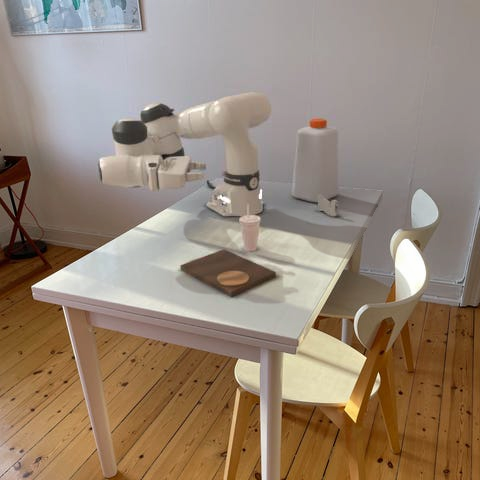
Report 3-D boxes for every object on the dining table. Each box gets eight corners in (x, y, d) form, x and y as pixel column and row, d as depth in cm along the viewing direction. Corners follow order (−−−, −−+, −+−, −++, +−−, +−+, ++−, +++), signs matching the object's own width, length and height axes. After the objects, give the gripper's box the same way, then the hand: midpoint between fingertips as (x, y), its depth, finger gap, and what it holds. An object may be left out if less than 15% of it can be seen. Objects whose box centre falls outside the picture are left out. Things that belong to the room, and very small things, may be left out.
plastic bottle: (341, 195, 193) (347, 118, 179) (319, 205, 184) (323, 125, 170) (310, 188, 202) (313, 114, 188) (287, 197, 193) (288, 120, 179)
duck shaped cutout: (320, 210, 180) (339, 217, 172) (317, 211, 179) (336, 218, 172) (321, 194, 177) (340, 201, 169) (318, 195, 176) (337, 202, 169)
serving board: (180, 270, 140) (180, 263, 139) (224, 253, 149) (223, 247, 148) (231, 296, 126) (230, 290, 125) (275, 277, 135) (275, 270, 134)
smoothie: (239, 245, 154) (237, 201, 147) (259, 244, 155) (259, 200, 147) (241, 253, 149) (239, 208, 141) (262, 252, 149) (262, 207, 142)
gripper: (162, 172, 150) (207, 172, 150) (150, 193, 133) (202, 193, 133) (160, 150, 147) (206, 150, 147) (148, 169, 130) (201, 169, 129)
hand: (204, 171), depth 140 cm, fingers open, 8 cm apart
